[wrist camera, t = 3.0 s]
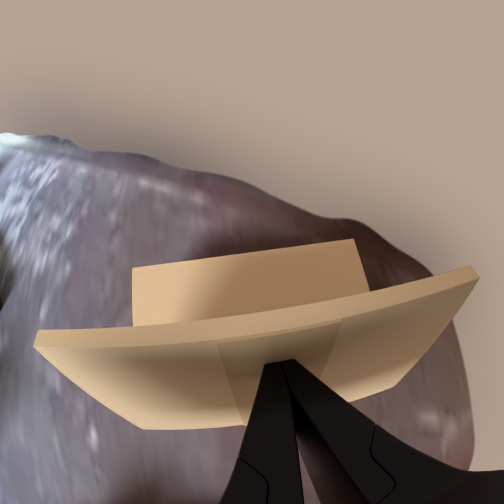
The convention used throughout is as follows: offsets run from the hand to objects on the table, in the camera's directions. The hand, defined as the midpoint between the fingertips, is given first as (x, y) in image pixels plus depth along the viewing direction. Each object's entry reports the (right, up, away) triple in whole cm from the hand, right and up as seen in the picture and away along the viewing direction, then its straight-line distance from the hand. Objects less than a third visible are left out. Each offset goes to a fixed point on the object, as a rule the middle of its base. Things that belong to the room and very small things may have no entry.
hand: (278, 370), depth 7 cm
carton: (-1, -3, +12) cm, 13 cm away
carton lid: (0, -1, +2) cm, 3 cm away
